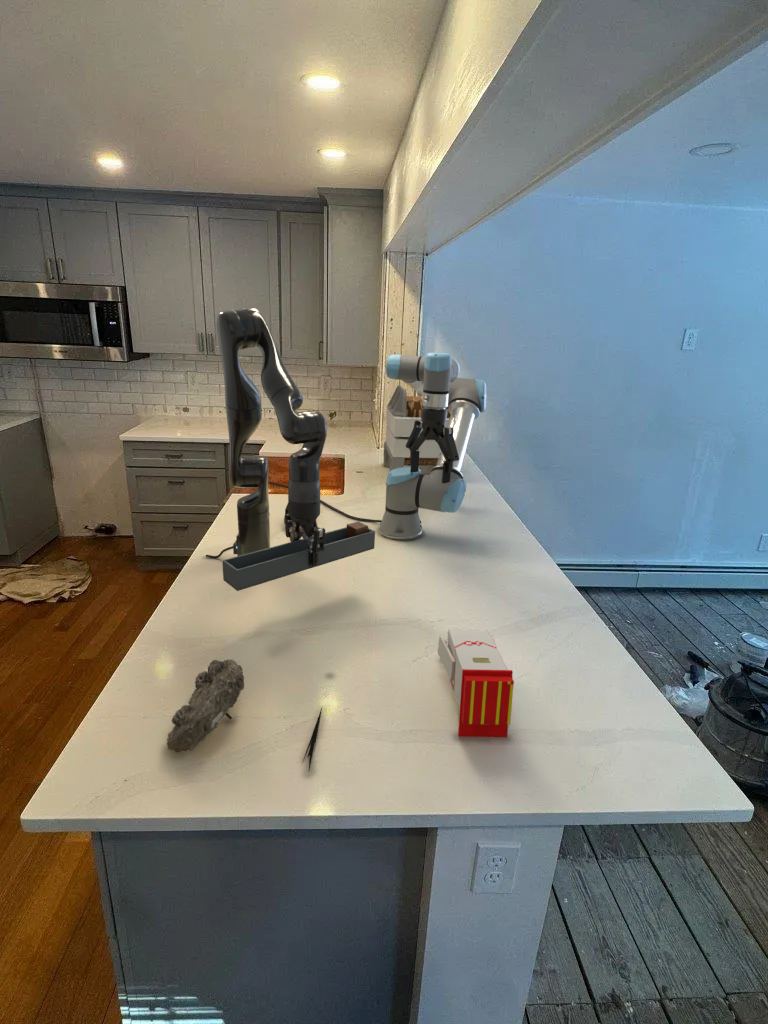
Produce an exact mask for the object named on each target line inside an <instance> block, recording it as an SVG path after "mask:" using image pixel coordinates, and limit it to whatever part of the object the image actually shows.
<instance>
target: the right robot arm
mask: <svg viewBox="0 0 768 1024" xmlns="http://www.w3.org/2000/svg"><path fill="white" fill-rule="evenodd" d="M460 372H461V366H460V364H459V362H458V361H457V360H456V358H453V357H452V355H451V354H450V353H447V352H436V351H435V352H427V353H426V355H424V356H423V355H422V356H421V355H409V354H400V353H399V354H398V353H397V354H390V355H389V356H388V357H387V359H386V362H385V375H386V377H387V378H388V379H390V380H395V381H397V380H400V381H402V382H403V383H405V384H406V385H408V386H409V387H410V388H411V389H413V390H414V391H415V393H416V394H417V396H418V397H420V398H421V399H422V405H423V406H424V407H423V408H422V413H421V419H422V420H416V421H415V423H414V428H413V430H412V432H411V435H410V437H409V439H408V441H407V444H406V448H409V449H410V461H411V466H404V467H402V468H396V469H393V470H391V471H390V470H389V472H388V473H387V475H386V482H385V504H384V505H385V507H384V508H385V509H384V513H383V515H382V519H373V518H364V517H363V518H362V517H359V516H358V517H357V516H353V515H349V514H348V513H346V512H344V511H342V510H340V509H338V508H336V507H334V506H332V505H330V504H328V503H327V502H325V501H323V500H322V499H320V504H323V505H324V506H326V507H328V508H330V509H331V510H334V511H335V512H336V513H339V514H341V515H343V516H345V517H347V518H349V519H352V520H357V521H360V522H370V523H379V526H378V533H379V534H380V535H381V536H382V537H385V538H387V539H389V540H395V541H410V540H415V539H418V538H420V537H421V536H422V535H423V525H422V524H423V523H422V520H421V518H420V515H419V509H424V510H430V511H435V512H436V511H437V512H441V513H456V512H457V511H459V509H460V508H461V506H462V505H463V501H464V499H465V494H466V490H467V482H466V480H465V479H464V475H463V473H462V467H463V464H464V458H465V455H466V450H467V447H468V444H469V439H470V437H471V431H472V428H473V424H474V421H475V420H477V419H478V418H479V416H480V414H481V413H484V412H486V410H487V383H486V381H485V380H484V379H477V378H465V377H459V375H460ZM447 409H448V411H449V413H450V418H449V422H448V425H447V428H446V427H445V422H446V420H447ZM421 429H423V431H422V432H421ZM420 432H421V433H420ZM419 435H420V436H419ZM418 436H419V437H418ZM440 437H441V438H440ZM427 438H430V439H432V440H435V441H436V442H437V443H438V445H439V447H440V449H441V451H440V454H439V458H438V462H437V465H436V466H432V468H430V471H429V474H425V473H422V470H421V468H419V467H420V466H419V452H420V451H416V450H419V447H420V446H421V445H422V444H423V442H424V441H425V440H426V439H427ZM460 471H461V472H460ZM269 484H270V485H274V486H277V487H282V488H286V489H288V485H285V484H282V483H277V482H273V481H269Z"/></svg>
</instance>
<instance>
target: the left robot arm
mask: <svg viewBox="0 0 768 1024" xmlns="http://www.w3.org/2000/svg"><path fill="white" fill-rule="evenodd" d="M216 333H217V340H218V347H219V353H220V358H221V365H222V372H223V383H224V399H225V400H224V402H225V414H226V421H227V431H228V441H229V445H228V446H229V476H230V481H231V484H232V486H233V487H234V488H238V489H245V488H246V489H254V488H256V490H254V491H253V492H252V493H249V494H246V495H243V496H242V497H240V498H239V499H238V500H237V501H236V512H237V513H236V514H237V515H236V516H237V535H236V536H235V537H236V540H235V541H234V543H233V544H232V546H229V547H226V548H224V549H223V550H221V551H220V552H219V554H217V555H210V554H205V557H206V558H209V559H210V558H211V559H218V558H220V557H221V556H222V555H223V554H224V553H226V552H228V551H230V550H232V552H233V555H236V557H237V556H240V555H244V554H248V553H252V552H255V551H259V550H263V549H267V548H270V547H271V532H270V531H271V529H270V528H271V527H270V526H271V525H270V498H269V482H270V464H269V460H268V457H266V456H265V455H242V454H243V450H244V448H245V446H246V444H247V442H248V441H249V440H250V438H251V437H252V436H253V434H254V433H255V432H256V430H257V429H258V427H259V425H260V423H261V421H262V417H263V410H262V396H261V393H260V391H259V389H258V387H257V386H256V385H255V383H254V382H253V381H252V380H251V378H250V377H249V376H248V375H247V373H246V372H245V371H244V369H243V368H242V366H241V365H242V364H241V362H240V359H239V351H240V350H247V349H252V348H256V347H257V348H258V349H259V350H260V352H261V355H262V363H261V364H262V365H261V370H260V371H261V372H260V382H261V387H262V389H263V391H264V393H265V395H266V396H267V398H268V400H269V402H270V403H271V405H272V406H273V409H274V413H275V416H276V419H277V423H278V428H279V431H280V434H281V436H282V438H283V439H284V441H286V442H287V443H288V444H290V445H302V446H301V448H300V449H299V450H297V451H295V452H293V453H292V454H290V455H289V458H288V483H287V484H288V485H287V486H288V488H287V504H288V514H286V515H285V514H284V516H285V524H284V527H285V528H284V529H285V530H284V531H285V537H286V538H289V542H293V541H297V540H300V539H303V540H304V543H305V544H307V547H308V550H309V566H310V567H312V566H316V565H317V563H318V552H321V551H324V545H325V533H326V529H325V527H321V528H320V527H319V526H318V522H317V519H318V517H319V516H320V515H321V502H320V500H321V482H320V461H321V457H322V454H323V451H324V447H325V444H326V439H327V435H328V423H327V420H326V417H325V416H324V415H323V414H322V412H320V411H318V410H306V411H298V410H299V409H300V408H301V407H302V405H303V404H304V398H303V395H302V393H301V391H300V389H299V387H297V384H296V383H295V382H294V380H293V378H292V376H291V374H290V373H289V371H288V370H287V368H286V365H285V364H284V362H283V359H282V356H281V354H280V352H279V349H278V346H277V344H276V340H275V339H274V337H273V335H272V332H271V329H270V328H269V324H268V323H267V321H266V318H265V317H264V315H263V314H262V312H261V311H260V310H259V309H257V308H255V307H244V308H237V309H236V308H235V309H230V310H224V311H220V312H219V313H218V314H217V318H216ZM296 411H297V412H296ZM312 536H313V537H314V538H313V539H310V540H309V539H308V538H310V537H312ZM311 542H313V547H312V545H311ZM319 544H320V546H319Z"/></svg>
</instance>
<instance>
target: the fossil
mask: <svg viewBox="0 0 768 1024" xmlns="http://www.w3.org/2000/svg"><path fill="white" fill-rule="evenodd" d="M243 670H244V669H243V667H242V665H240V664H237V662H236V661H235V660H234V659H232V658H231V659H227V658H226V659H224V660H223V661H222V660H217V659H212V660H211V661H210V663H209V665H208V666H207V671H201V672H199V673H198V674H197V675H196V676H195V680H194V684H195V685H194V687H195V689H194V690H193V693H192V694H191V697H190V698H189V700H188V704H184V705H182V706H181V707H180V709H177V710H176V711H175V713H174V715H173V716H172V718H171V723H172V724H173V727H172V730H171V731H170V732H168V734H167V738H166V741H167V742H166V745H167V749H168V750H169V751H173V752H174V753H176V754H178V753H182V752H188V751H189V752H192V751H193V750H195V748H196V747H197V746H199V744H200V743H201V742H203V741H204V740H205V739H206V738H207V737H208V736H209V735H210V734H211V733H212V732H214V730H215V729H217V727H218V726H219V724H220V722H221V721H222V720H223V719H224V718H225V716H226V717H227V719H229V720H233V717H232V715H230V714H229V710H230V709H231V708H234V706H235V704H236V703H237V702H238V699H239V697H240V695H241V693H242V691H243V690H245V689H244V688H245V675H244V671H243Z"/></svg>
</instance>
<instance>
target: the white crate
mask: <svg viewBox="0 0 768 1024" xmlns="http://www.w3.org/2000/svg"><path fill="white" fill-rule="evenodd" d="M407 394H408V393H407V390H406V389H404V388H403V387H402V385H399V384H398V385H397V386H396V388H395V390H394V392H393V394H392V395H391V398H390V400H389V402H388V404H387V405H386V413H385V414H386V415H385V423H386V428H385V438H384V442H383V466H384V467H388V468H389V472H390V471H391V470H393V469H396V468H402V467H405V466H406V467H411V461H410V449H409V448H406V444H407V441H408V439H409V437H410V435H411V432H412V430H413V428H414V423H415V421H416V420H422V419H421V413H422V408H423V407H424V406H423V405H422V399H421V398H420V397H419V396H418V395H417V396H415V395H414V396H413V395H412V396H411V395H407ZM449 418H450V413H449V411H448V409H447V420H446V422H445V427H446V428H447V425H448V422H449ZM422 431H423V429H421V432H422ZM421 432H420V433H421ZM419 436H420V435H419ZM419 436H418V437H419ZM440 438H441V437H440ZM416 451H420V452H419V467H435V466H436V465H437V462H438V458H439V454H440V451H441V449H440V447H439V445H438V443H437V442H436V441H435V440H432V439H430V438H427V439H426V440H425V441H424V442H423V444H422V445H421V446H420V447H419V450H416ZM460 472H461V473H462V470H461V471H460Z"/></svg>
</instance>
